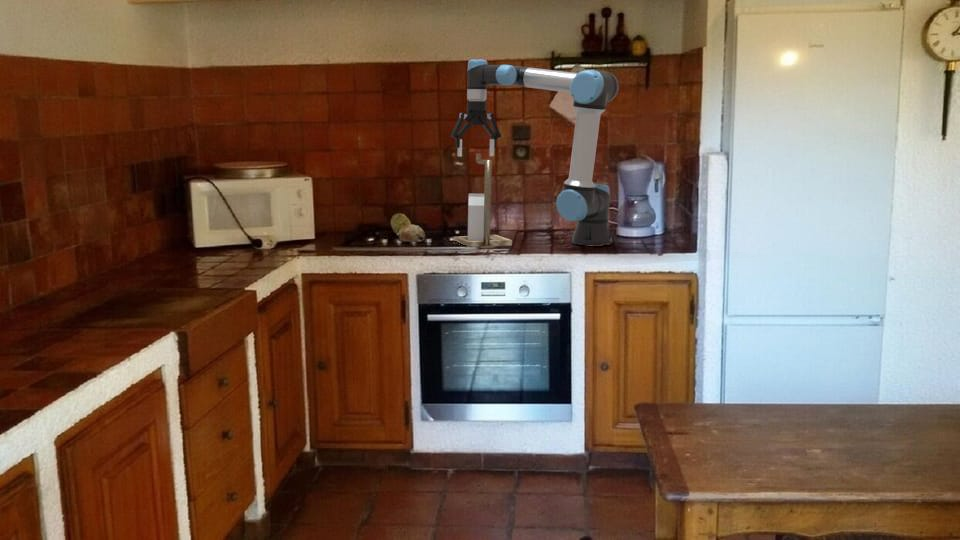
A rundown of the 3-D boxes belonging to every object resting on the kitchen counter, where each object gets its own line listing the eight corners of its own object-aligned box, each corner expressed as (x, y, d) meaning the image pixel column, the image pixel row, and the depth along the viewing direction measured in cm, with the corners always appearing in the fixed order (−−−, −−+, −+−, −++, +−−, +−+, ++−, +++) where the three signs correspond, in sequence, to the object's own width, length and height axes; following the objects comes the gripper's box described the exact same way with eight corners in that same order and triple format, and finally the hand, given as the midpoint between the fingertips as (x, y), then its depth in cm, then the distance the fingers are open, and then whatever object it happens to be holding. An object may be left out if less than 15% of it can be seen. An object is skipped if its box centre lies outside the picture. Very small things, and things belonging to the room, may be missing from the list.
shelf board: (496, 239, 358) (496, 234, 357) (511, 245, 345) (512, 240, 345) (453, 241, 351) (453, 236, 350) (467, 247, 338) (467, 242, 338)
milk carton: (486, 245, 344) (487, 194, 340) (467, 245, 344) (468, 194, 340) (486, 242, 351) (487, 192, 347) (468, 242, 351) (468, 192, 347)
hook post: (482, 243, 349) (484, 153, 343) (494, 247, 339) (496, 155, 333) (470, 243, 347) (471, 153, 341) (481, 248, 337) (483, 155, 331)
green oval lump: (391, 236, 360) (391, 216, 359) (390, 232, 373) (390, 212, 371) (412, 236, 361) (412, 216, 360) (410, 232, 374) (410, 212, 372)
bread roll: (410, 252, 348) (417, 234, 345) (390, 238, 352) (397, 220, 349) (425, 248, 356) (432, 231, 353) (405, 235, 360) (412, 217, 357)
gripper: (502, 101, 363) (500, 155, 367) (443, 100, 353) (442, 155, 357) (510, 101, 357) (508, 156, 360) (450, 100, 347) (449, 157, 351)
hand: (475, 156), depth 359 cm, fingers open, 13 cm apart
